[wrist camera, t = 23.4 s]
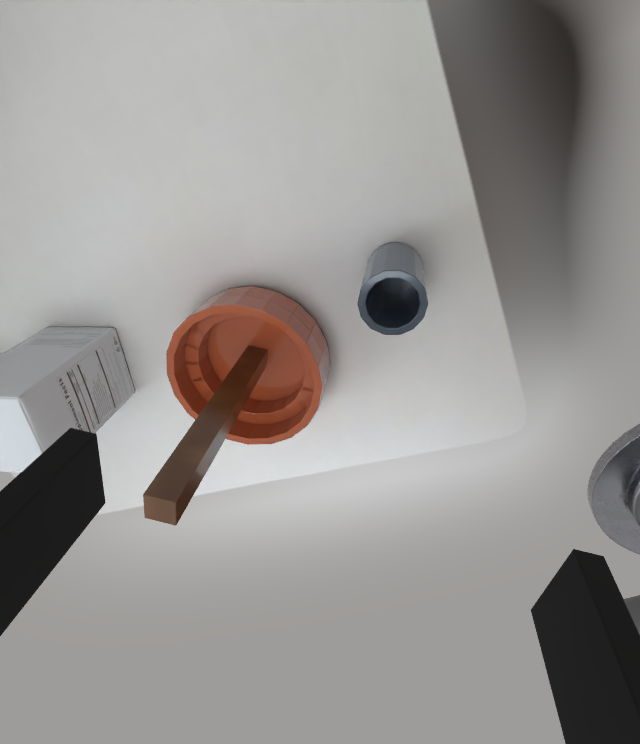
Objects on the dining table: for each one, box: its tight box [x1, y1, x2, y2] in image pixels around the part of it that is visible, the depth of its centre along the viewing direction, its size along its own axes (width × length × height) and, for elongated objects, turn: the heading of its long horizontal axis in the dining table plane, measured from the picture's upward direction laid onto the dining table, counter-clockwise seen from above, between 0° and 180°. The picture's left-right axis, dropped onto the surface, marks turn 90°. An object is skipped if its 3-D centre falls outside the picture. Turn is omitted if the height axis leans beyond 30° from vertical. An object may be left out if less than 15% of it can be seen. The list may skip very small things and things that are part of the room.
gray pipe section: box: [358, 242, 428, 335], centre depth 37 cm, size 5×5×9 cm
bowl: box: [167, 286, 330, 444], centre depth 46 cm, size 16×16×6 cm
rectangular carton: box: [0, 327, 135, 473], centre depth 46 cm, size 9×9×15 cm
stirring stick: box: [143, 345, 268, 525], centre depth 38 cm, size 2×2×22 cm
